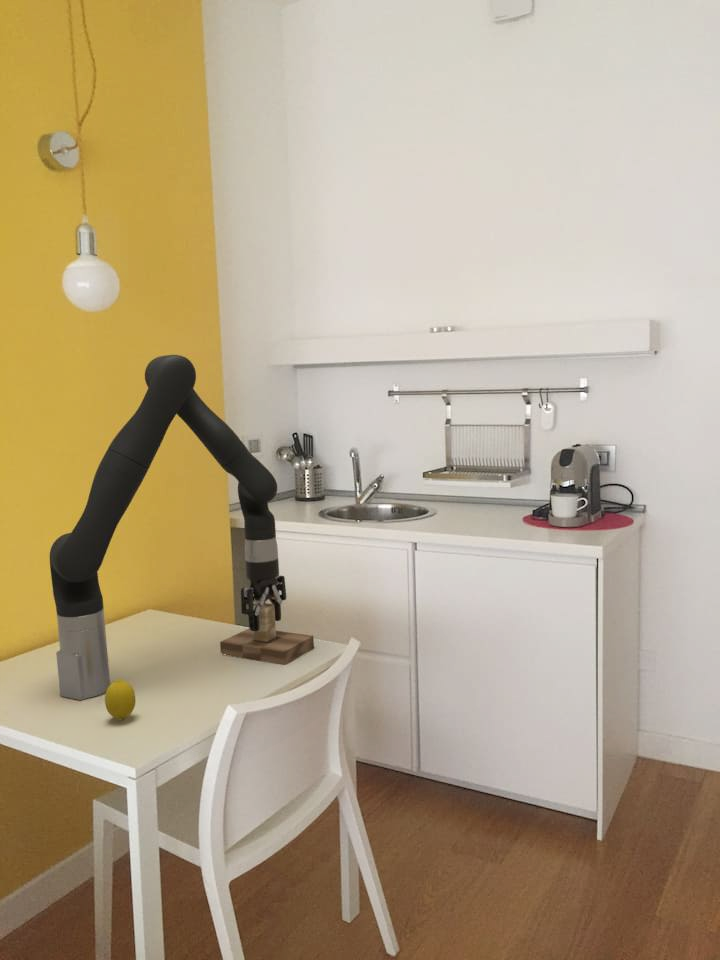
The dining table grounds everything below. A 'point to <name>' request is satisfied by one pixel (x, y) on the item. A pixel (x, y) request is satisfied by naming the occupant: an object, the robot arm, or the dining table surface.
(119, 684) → the lemon
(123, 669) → the dining table surface
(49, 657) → the dining table surface
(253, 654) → the walnut board
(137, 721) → the dining table surface
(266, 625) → the beech peg
